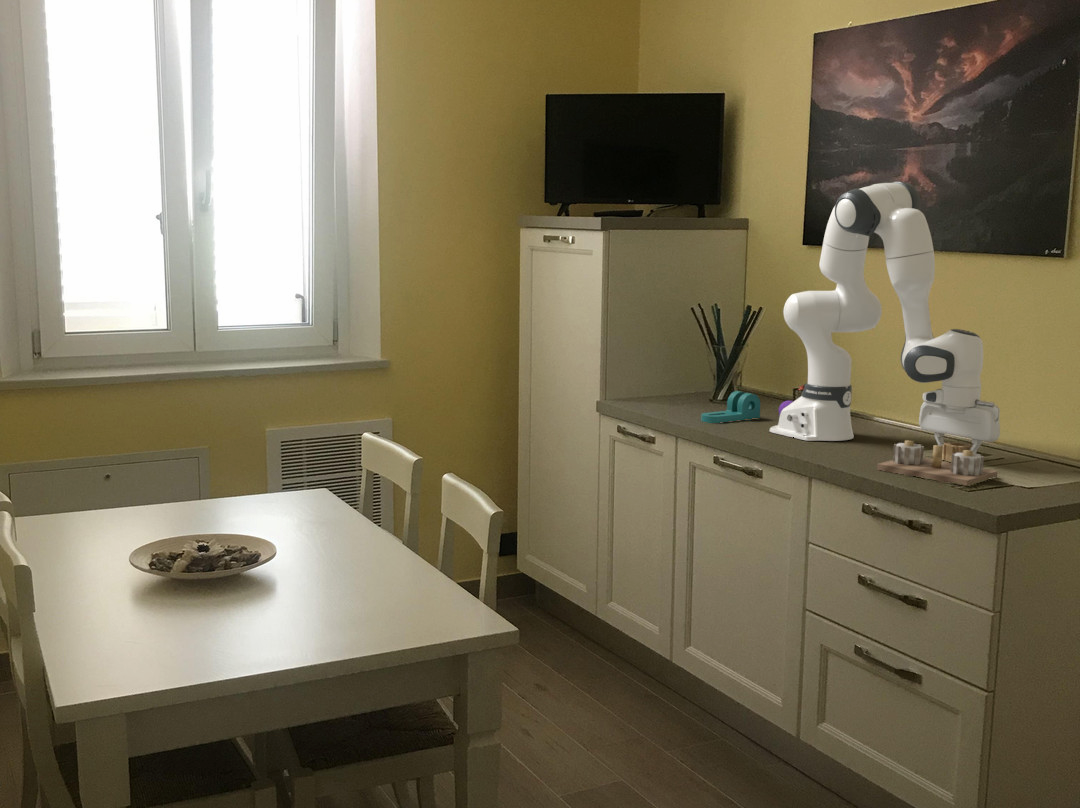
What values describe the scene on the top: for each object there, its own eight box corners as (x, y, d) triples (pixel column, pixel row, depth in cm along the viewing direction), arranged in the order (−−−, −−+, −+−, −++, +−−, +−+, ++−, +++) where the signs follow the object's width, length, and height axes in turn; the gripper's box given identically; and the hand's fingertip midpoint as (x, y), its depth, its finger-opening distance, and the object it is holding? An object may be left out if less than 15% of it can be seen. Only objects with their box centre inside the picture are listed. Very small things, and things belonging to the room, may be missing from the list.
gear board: (876, 470, 259) (878, 442, 258) (908, 461, 268) (910, 435, 267) (967, 487, 243) (969, 457, 242) (997, 477, 252) (999, 449, 251)
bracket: (744, 416, 330) (745, 390, 329) (759, 419, 325) (760, 393, 323) (696, 421, 321) (697, 394, 320) (711, 425, 316) (712, 397, 314)
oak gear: (936, 460, 270) (937, 444, 269) (950, 456, 274) (951, 440, 274) (962, 464, 265) (963, 448, 264) (975, 461, 269) (977, 444, 269)
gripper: (1007, 402, 261) (1003, 460, 263) (932, 390, 277) (929, 445, 279) (991, 404, 257) (987, 463, 259) (916, 392, 274) (913, 448, 276)
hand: (956, 453), depth 269 cm, fingers closed on oak gear, 7 cm apart
